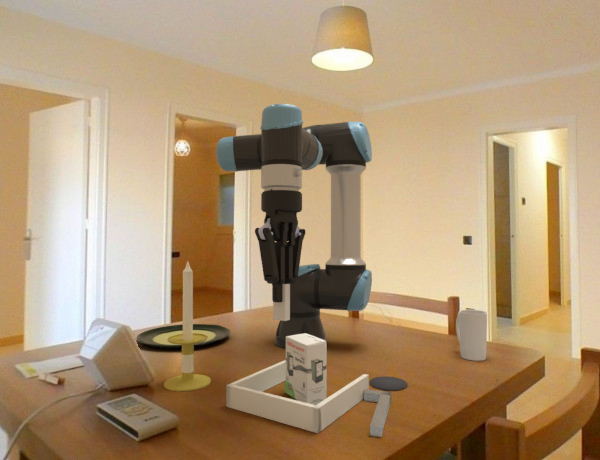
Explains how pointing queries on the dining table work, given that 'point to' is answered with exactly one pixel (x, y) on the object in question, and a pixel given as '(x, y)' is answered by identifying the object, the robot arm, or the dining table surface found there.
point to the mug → (472, 334)
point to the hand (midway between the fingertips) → (281, 319)
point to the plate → (161, 334)
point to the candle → (187, 343)
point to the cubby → (291, 400)
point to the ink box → (306, 368)
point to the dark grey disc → (388, 383)
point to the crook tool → (378, 410)
